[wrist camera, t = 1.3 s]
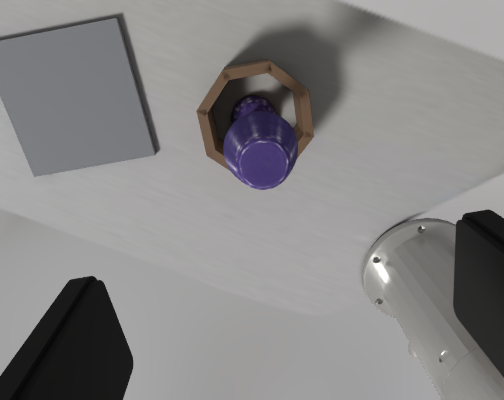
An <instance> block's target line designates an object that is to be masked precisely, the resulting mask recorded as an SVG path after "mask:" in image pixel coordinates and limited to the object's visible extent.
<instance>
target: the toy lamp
mask: <svg viewBox="0 0 504 400" xmlns="http://www.w3.org/2000/svg"><path fill="white" fill-rule="evenodd" d="M231 122H232V125H231V127H230V128H229V130H228V132H227V134H226V136H225V140H224V146H223V151H224V158H225V161H226V164H227V166H228V168H229V169H230V171H231V172H232V173H233V174H234V175H235V176H236V177H237V178H238V179H239V180H241V181H242V182H243V183H245V184H246V185H248V186H249V187H252V188H255V189H259V190H266V189H271V188H274V187H276V186H278V185H280V184H281V183H282V182H283V181H284V180H285V179H286V178H287V177H288V175H289V174H290V172H291V170H292V169H293V167H294V164H295V162H296V159H297V155H298V142H297V138H296V134H295V132H294V130H293V128H292V127H291V126H290V124H289V123H288V122H287V121H286V120H284V119H283V118H282V117H280V116H278V115H276V112H275V109H274V107H273V105H272V104H271V103H270V101H268V100H267V99H265V98H264V97H261V96H259V95H249V96H246V97H244V98H242V99H240V100H239V101H238V102H237V103H236V105H235V106H234V108H233V111H232V114H231Z"/></svg>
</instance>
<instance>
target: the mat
mask: <svg viewBox="0 0 504 400" xmlns="http://www.w3.org/2000/svg"><path fill="white" fill-rule="evenodd" d="M0 96H1V99H2V101H3V104H4V106H5V108H6V111H7V113H8V116H9V118H10V120H11V123H12V125H13V128H14V130H15V132H16V135H17V137H18V139H19V142H20V144H21V147H22V149H23V151H24V154H25V156H26V159H27V161H28V163H29V166H30V168H31V171H32V173H33V175H34V177H36V176H41V175H47V174H53V173H58V172H64V171H69V170H75V169H81V168H86V167H92V166H97V165H103V164H108V163H114V162H120V161H125V160H131V159H136V158H142V157H148V156H153V155H156V151H155V147H154V144H153V140H152V136H151V133H150V129H149V126H148V122H147V119H146V115H145V111H144V108H143V104H142V101H141V97H140V94H139V90H138V87H137V83H136V79H135V76H134V72H133V69H132V65H131V62H130V58H129V55H128V51H127V47H126V44H125V40H124V37H123V33H122V30H121V26H120V22H119V19H118V18H113V19H108V20H103V21H98V22H93V23H88V24H82V25H77V26H72V27H67V28H62V29H57V30H52V31H47V32H42V33H36V34H31V35H26V36H21V37H16V38H11V39H6V40H1V41H0Z"/></svg>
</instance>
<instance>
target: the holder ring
mask: <svg viewBox="0 0 504 400" xmlns="http://www.w3.org/2000/svg"><path fill="white" fill-rule="evenodd" d="M264 73H269V74H270V75H271V76H273V77H274V78H275V79H277V80H278V81H279V82H281V83H282V84H284V85H285V86H286V87H288V88H289V89H290V90H292V91H293V98H294V106H295V113H296V121H297V124H296V126H295V127H294V128H293V130H294V132H295V134H296V138H297V142H298V155H297V158H298V157H299V155H300V154H301V153H302V151H303V150H304V149H305V147H306V146H307V145H308V144H309V142H310V141H311V140H312V138H313V137H314V132H313V124H312V115H311V106H310V97H309V90H308V89H306V88H305V87H304V86H302V85H301V84H300V83H298V82H297V81H296V80H294V79H293V78H292V77H290V76H289V75H288V74H286V73H285V72H284V71H282V70H281V69H280V68H278V67H277V66H276V65H274V64H273V63H272V62H271V61H269V60H267V59H265V60H259V61H254V62H249V63H244V64H238V65H233V66H228V67H224V69H223V70H222V72H221V73H220V75H219V77H218V78H217V80H216V81H215V83H214V84H213V86H212V88H211V89H210V91H209V92H208V94H207V95H206V97H205V99H204V100H203V102H202V103H201V105H200V106H199V108H198V109H197V115H198V119H199V123H200V128H201V132H202V137H203V141H204V145H205V150H206V154H207V156H208V157H210V158H211V159H213V160H214V161H216V162H218V163H219V164H221V165H222V166H224V167H225V168H227V169H228V170H230V169H229V168H228V166H227V164H226V161H225V158H224V151H223V146H224V141H222V140H221V139H219V138H218V134H217V130H216V125H215V120H214V116H213V111H212V105H213V103H214V102H215V100H216V99H217V97H218V96H219V94H220V93H221V91H222V89H223V88H224V86H225V85H226V83H227V82H228V80H232V79H237V78H243V77H248V76H253V75H259V74H264Z"/></svg>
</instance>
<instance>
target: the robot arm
mask: <svg viewBox="0 0 504 400" xmlns="http://www.w3.org/2000/svg"><path fill="white" fill-rule="evenodd" d="M362 283H363V288H364V290H365V292H366V294H367V296H368V298H369V300H370V301H371V303H372V304H373V305H374V306H375V307H376V308H377V309H378V310H380V311H381V312H383V313H385V314H386V315H389V316H391V317H394V318H396V319H397V321H398V323H399V324H400V326H401V328H402V330H403V332H404V334H405V335H406V337H407V339H408V343H409V344H408V348H409V353H410V355H412V356H413V357H415V358H418V359H419V360H420V362H421V364H422V366H423V368H424V369H425V371H426V373H427V375H428V376H429V378H430V380H431V382H432V384H433V385H434V387H435V389H436V391H437V393H438V394H439V396H440V398H441V400H504V218H502V217H501V216H499V215H497V214H496V213H495V212H493V211H491V210H484V211H477V212H471V213H466V214H464V215H463V217H462V220H458V221H457V223H456V225H455V224H452V223H450V222H448V221H444V220H440V219H430V218H425V219H416V220H412V221H409V222H405V223H403V224H400V225H398V226H396V227H394V228H392V229H391V230H389V231H388V232H387V233H385V234H384V235H383V236H381V237H380V238H379V239H378V240H377V241H376V242H375V243H374V245H373V246H372V248H371V249H370V250H369V252H368V254H367V256H366V258H365V260H364V264H363V268H362ZM132 369H133V357H132V354H131V351H130V349H129V346H128V343H127V341H126V338H125V336H124V333H123V331H122V328H121V325H120V323H119V320H118V318H117V315H116V313H115V310H114V308H113V305H112V303H111V300H110V297H109V295H108V292H107V290H106V287H105V285H104V283H103V282H102V281H101V280H98V281H97V279H96V278H95V277H93V276H89V277H83V278H77V279H72V280H70V281H69V282H68V283H67V284H66V285H65V287H64V288H63V290H62V291H61V292H60V294H59V295H58V297H57V298H56V299H55V301H54V302H53V303H52V305H51V306H50V308H49V309H48V310H47V312H46V313H45V315H44V316H43V317H42V319H41V320H40V322H39V323H38V324H37V326H36V327H35V329H34V330H33V331H32V333H31V334H30V336H29V337H28V339H27V340H26V341H25V343H24V344H23V345H22V347H21V348H20V349H19V351H18V352H17V354H16V355H15V357H14V358H13V359H12V361H11V362H10V363H9V365H8V366H7V368H6V369H5V370H4V372H3V373H2V374H1V376H0V400H123V397H124V394H125V391H126V388H127V385H128V382H129V379H130V375H131V373H132Z"/></svg>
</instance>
